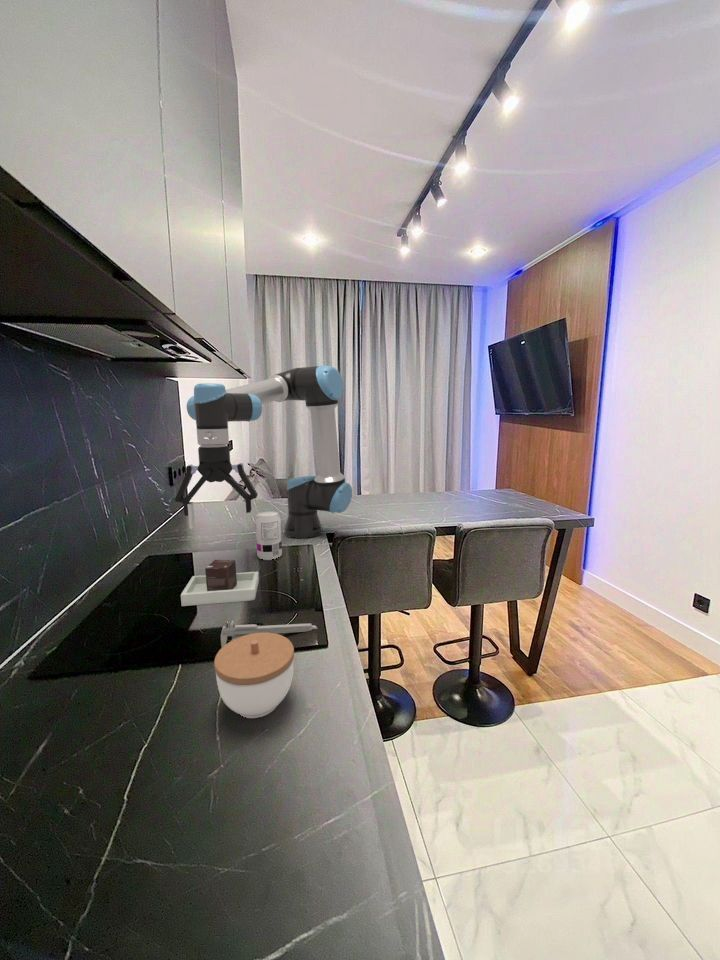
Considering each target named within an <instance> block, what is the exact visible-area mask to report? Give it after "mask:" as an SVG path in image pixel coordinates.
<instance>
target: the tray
mask: <svg viewBox="0 0 720 960" xmlns="http://www.w3.org/2000/svg"><path fill="white" fill-rule="evenodd" d="M259 577H260V576H259V571H246V572H236V578H237V585H236V586H235V587H234V588H233V589H232V590H219V591H207V584H206V574H201V575H192V576H191V578H190V580H189V581H188V583H187V584H186V586H185V587H184V589H183V590H182V591H181V594H180V601H181V602H180V603H181V607H187V606H188V607H189V606H201V605H202V606H203V605H212V604H224V603H225V604H226V603H237V602H249V601H250V602H251V601H255V600H256V596H257V592H258V586H259V581H260V578H259Z"/></svg>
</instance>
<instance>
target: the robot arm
mask: <svg viewBox="0 0 720 960" xmlns="http://www.w3.org/2000/svg"><path fill="white" fill-rule="evenodd" d="M344 387H345V386H344V381H343V377H342V376H341V374H340V371H338V370H337V368H335V367H334V366H332V365H317V366H315V365H314V366H306V367H295V368H291V369H288V370H285V371H281V372H279V373H275V374H272V375H270V376H269V377H268V378H267V379H264V380H260V381H256V382H252V383H248V384H243V385H240V386H235V387H231V388H228V389H227V388H226V386H225V385H224V384H223V383H216V382H215V383H213V382H212V383H209V382H207V383H204V382H202V383H197V384H196V385H194V387H193V395H192V396H191V397H189V399H187V403H186V412H187V414H188V416H189V417H190V418H191V419H192V420H194V421H195V425H196V439H197V444H198V445H199V447H198V449H197V451H198V465H193V464H188V465H187V466H185V475H184V477H183V480H182V481H181V485H180V487H179V489H178V491H177V493H176V495H175V498H174V501H175V502H176V503H181V504H182V505H183V515H184V516H188V526H189V530H192V529H194V528H195V526H196V519H195V509H194V501H191V500H192V499H193V497H194V496H195V495H196V494H197V493H198V492H199V490H200V489H201V487H202V486H203V485H204V484H205V482H206V481H207V482H208V483H214V482H217V483H222V482H224V481H225V482H226V483H228V484H229V485H230V486H231V487H232V488H233V489H234V490H235V491H236V492H237V494H238V495H240V497H242V498H243V500H242V512H243V513H242V514H243V515H242V517H243V527H247V526H248V524H249V515H248V513H249V514H250V513H252V500H253V499H257V498H258V492H257V490H256V489H255V487H254V485H253V483H252V481H251V479H249V477H248V475H247V473H246V472H245V469H244V463H242V462H240V463H238V464H232V463H231V454H230V447H229V446H228V445H229V443H230V437H229V423H228V422H249V423H250V422H254V421H257V420H259V418H260V417H261V415H262V413H263V405H266V404H269V403H273V402H277V403H282V402H285V401H305V407H306V408H307V410H308V409H309V411H310V416H311V417H310V418H311V424H312V426H311V427H312V434H313V444H314V452H315V453H314V454H315V455H314V456H315V462H316V471H317V473H316V474H317V475H306V476H300V477H293V478H290V479H288V481H287V483H286V485H287V489H286V492H287V493H286V494H287V514H288V515H287V519H286V523H285V525H284V535H285V534H286V535H287V536H290V537H289V538H291V537H296V538H295V539H308V538H307V537H311V538H314V537H313V536H315V537H318V536H320V535H321V534H322V533H323V526H322V523H321V520H320V517H319V515H318V511H321V512H326V513H331V514H332V513H333V514H334V513H339V514H341V513H344V512H345V511H346V510H348V508H349V507H350V504H351V502H352V498H353V488H352V485H351V483H349V482H346V476H345V474H343V473H342V472H341V465H340V455H339V445H338V443H339V442H338V432H337V431H338V430H337V421H336V412H335V410H336V407H337V406H338V405H339V399H341V398H342V397H343V395H344ZM233 470H234V471H235V473H237V474H238V475H239V478H240V479H241V481H242V482H243V484H244V486H245V487H246V490H245V489H244V487H242V485H240V484H239V482H237V480H236V479H235V478H234V477H233V476H232V475H231V474H230V473H231V472H232V471H233ZM197 471H198V473H199V474H200V475H201V477H200V478H199V480H198V481H197V482H196V484H195V485H194V486H193V487H192V488H191V490H190V491H189V492H188V493H187V495H186V496H185V493H186V491H187V489H188V487H189V484H190V482H191V481H192V477H193V475H194V474H195V473H196V472H197ZM247 491H248V492H247ZM321 532H322V533H321ZM320 533H321V534H320ZM319 534H320V535H319ZM286 535H285V536H286ZM317 535H318V536H317ZM287 536H286V537H287Z"/></svg>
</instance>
